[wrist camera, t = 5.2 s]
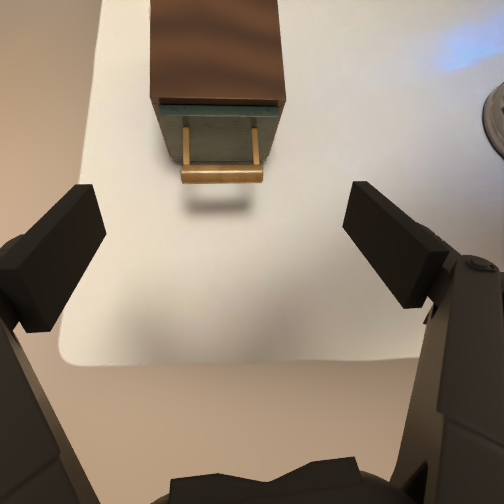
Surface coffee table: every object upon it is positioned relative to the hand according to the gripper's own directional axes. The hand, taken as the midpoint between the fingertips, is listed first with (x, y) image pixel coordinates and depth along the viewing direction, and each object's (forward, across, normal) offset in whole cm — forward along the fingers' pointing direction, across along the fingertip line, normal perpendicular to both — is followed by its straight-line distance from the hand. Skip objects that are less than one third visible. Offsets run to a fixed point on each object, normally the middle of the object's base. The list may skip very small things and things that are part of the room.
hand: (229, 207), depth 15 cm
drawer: (+26, 0, -2) cm, 26 cm away
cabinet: (+30, 0, +1) cm, 30 cm away
